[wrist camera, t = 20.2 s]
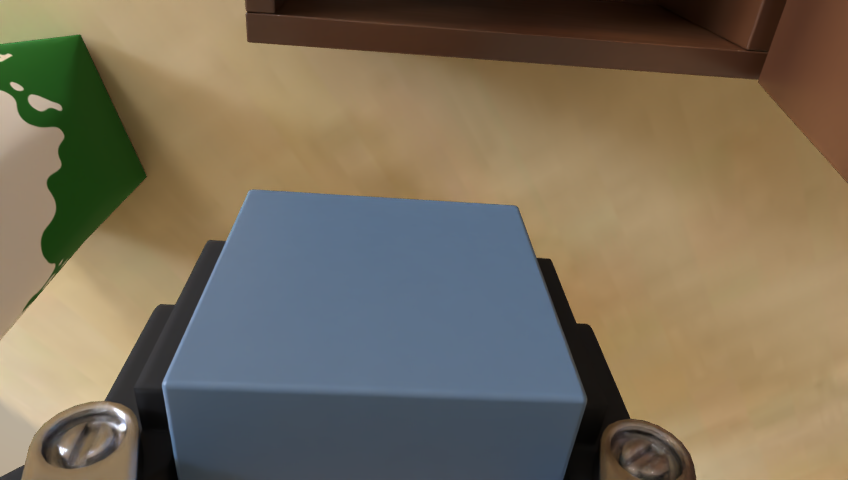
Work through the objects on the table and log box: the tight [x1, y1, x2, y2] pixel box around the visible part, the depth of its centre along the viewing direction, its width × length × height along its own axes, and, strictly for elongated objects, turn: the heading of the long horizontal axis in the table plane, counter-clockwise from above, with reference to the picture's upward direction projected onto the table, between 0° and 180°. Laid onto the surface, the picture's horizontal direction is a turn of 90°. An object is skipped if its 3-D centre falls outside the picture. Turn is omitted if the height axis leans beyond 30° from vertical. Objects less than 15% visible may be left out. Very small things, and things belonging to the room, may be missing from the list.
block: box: [162, 190, 587, 480], centre depth 11 cm, size 5×5×5 cm
